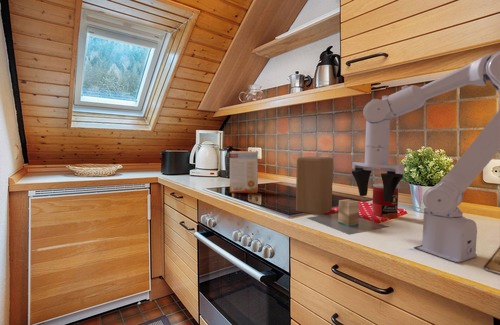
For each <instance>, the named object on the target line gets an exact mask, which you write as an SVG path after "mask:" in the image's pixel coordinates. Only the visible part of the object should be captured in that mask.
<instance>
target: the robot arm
mask: <svg viewBox="0 0 500 325" xmlns="http://www.w3.org/2000/svg"><path fill="white" fill-rule="evenodd" d="M487 81H489V83H490V84H491V86H492V87H493V88H494V89H495V90H497V92H498V94H499V96H500V50H498V51H497V52H496V53H494V54H493V55H492V54H487V55H484V56H483V57H480V58H478V59H477V60H475V61H472V62H470V63H468V64H467V65H464V66H462V67H460V68H458V69H456V70H453V71H451V72H448V73H447V74H445V75H443V76H441V77H439V78H437V79H435V80H433V81H430V82H429V83H427V84H424V85H423V86H419V85H413V84H412V85H407V84H406V85H403V86H401V90H399V91H396V92H394V93H392V94H390V95H387V94H386V95H382V96H381V99H378V98H372V99H371V100H370V101H368V102H367V103H366V104H365V106H364V107H363V112H362V113H363V118H364V119H365V120H366V122H365V143H364V146H365V147H364V148H365V149H364V162H361V161H352V164H351V168H352V170H351V175H352V176H353V178H354V180H355V182H356V185H357V188H358V189H357V190H358V194H359V196H360V197H367V195H368V191H369V190H368V189H369V181H370V177H371V174H372V172H381V173H380V176H381V180H382V183H383V188H384V191H383V198H384V201H386V202H387V201H392V197H393V194H394V191H395V189H396V187H397V186H399V184H400V182H401V181H402V179H403V178H404V174H405V165H398V164H391V163H389V159H390V158H389V157H390V156H389V155H390V136H391V133H390V132H391V129H390V128H391V127H390V126H391V125H390V124H391V121H392V120H393V118H394V119H395V118H398V117H400V116H402V115H405V114H408V113H410V112H413V111H416V110H418V109H420V108H422V107H423V106H424V105H425V103H426V101H427V100H429V99H432V98H434V97H437V96H440V95H443V94H446V93H448V92H451V91H454V90H457V89H459V88H464V87H465V86H478V87H479V86H480V87H486V86H487ZM499 152H500V108H499V109H498V111H497V112H496V113H495V114H494V115H493V117H492V118H491V119H490V120H489V121H488V123H487V124H486V125H485V127H484V128H483V129H482V130H481V132H480V133H479V134H478V135H477V136H476V138H475V139H474V140H473V141H472V142H471V144H470V145H469V147H468V148H467V149H466V150H465V151H464V153H463V154H462V155H461V156H460V158H458V160H457V161H456V163H455V164H454V165H453V166H452V167H451V168H450V170H449V171H448V172H447V173H445V175H444V176H443V177H442V178H441V179H440V180H439V181H438V183H436V184H435V185H434V186H431V187H429V188H428V189H426V190H425V192H424V193H423V196H422V201H423V205H424V207H425V208H423V219H422V220H423V221H422V222H423V223H422V242H421V243H422V244H421V245H417V246H413V248H414V249H416V250H420V251H423V252H425V253H428V254H431V255H433V256H437V257H440V258H441V259H446V260H449V261H452V262H453V263H454V262H455V263H458V264H459V263H462V262H464V261H468V260H470V259H473V258H477V257H478V254H477V252H476V251H477V238H478V237H477V235H478V227H477V223H476V221H475V220H473V219H470V218H466V217H465V216H463V213H464V212H463V211H462V210H461V209H460V207H459V206H460V205H461V204H462V202H463V200H464V194H465V191H466V190H467V189H468V188H469V187H470V186H471V185H472V183H473V181H474V180H475V179H476V178H478V176H479V175H480V174H481V172H482V171H483V170H484V169H486V166H488V165H489V164H490V162H491V161H492V160H493V159H494V158H495V157H496V155H497V154H498V153H499Z"/></svg>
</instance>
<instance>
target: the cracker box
mask: <svg viewBox="0 0 500 325" xmlns="http://www.w3.org/2000/svg"><path fill="white" fill-rule="evenodd" d="M258 152H259V151H245V150H244V151H240V150H239V151H236V150H235V151H229V193H231V194H232V193H233V194H234V193H245V194H246V193H248V194H249V193H250V194H257V193H258V191H259V189H258V183H259V182H258V179H259V178H258V177H259V176H258V172H259V171H258V169H259V162H258V161H259V160H258V159H259V156H258V154H259V153H258Z"/></svg>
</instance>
